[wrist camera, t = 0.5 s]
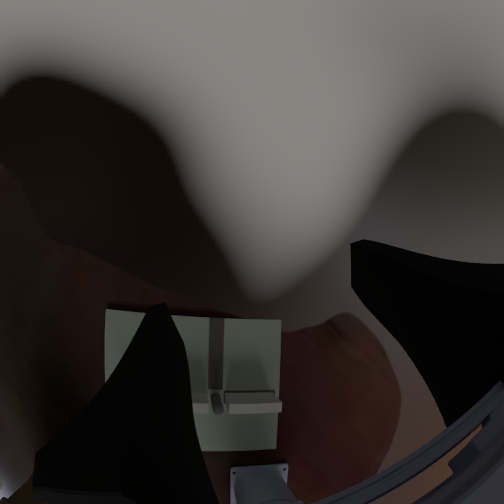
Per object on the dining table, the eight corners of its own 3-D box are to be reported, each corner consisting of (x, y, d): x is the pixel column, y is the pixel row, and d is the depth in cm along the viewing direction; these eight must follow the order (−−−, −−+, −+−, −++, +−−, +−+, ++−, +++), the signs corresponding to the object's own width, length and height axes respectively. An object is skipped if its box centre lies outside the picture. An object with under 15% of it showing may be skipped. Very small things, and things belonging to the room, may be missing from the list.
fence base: (271, 400, 33) (282, 412, 28) (210, 401, 32) (212, 414, 27) (271, 391, 33) (282, 403, 28) (210, 392, 32) (212, 404, 27)
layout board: (274, 446, 32) (276, 448, 31) (111, 438, 28) (110, 440, 28) (279, 319, 36) (281, 319, 35) (107, 309, 32) (105, 309, 32)
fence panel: (207, 393, 31) (208, 403, 27) (207, 401, 31) (208, 413, 27) (134, 387, 30) (125, 396, 25) (134, 396, 30) (126, 406, 25)
